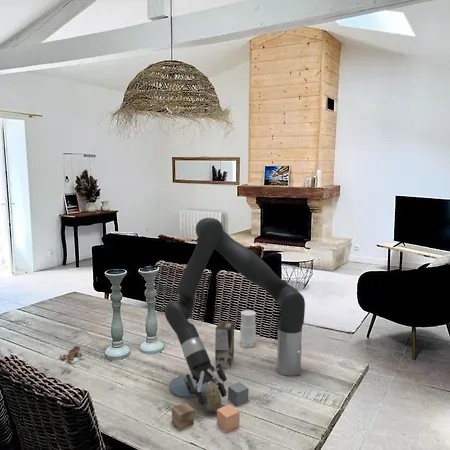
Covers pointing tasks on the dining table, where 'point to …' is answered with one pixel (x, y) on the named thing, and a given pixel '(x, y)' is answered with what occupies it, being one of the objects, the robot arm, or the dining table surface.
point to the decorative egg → (212, 398)
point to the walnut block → (182, 415)
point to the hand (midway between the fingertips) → (214, 400)
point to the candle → (248, 328)
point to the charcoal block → (238, 393)
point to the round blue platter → (183, 387)
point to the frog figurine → (71, 356)
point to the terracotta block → (228, 418)
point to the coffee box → (224, 344)
